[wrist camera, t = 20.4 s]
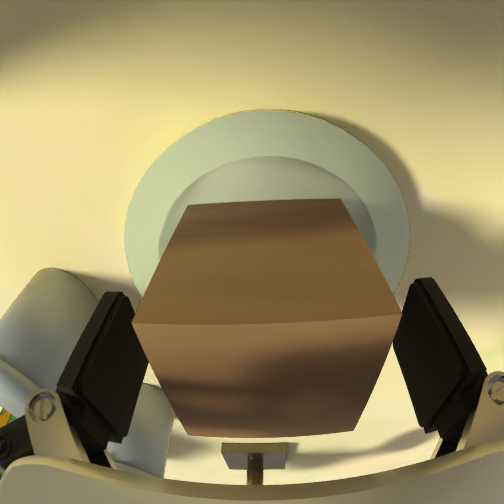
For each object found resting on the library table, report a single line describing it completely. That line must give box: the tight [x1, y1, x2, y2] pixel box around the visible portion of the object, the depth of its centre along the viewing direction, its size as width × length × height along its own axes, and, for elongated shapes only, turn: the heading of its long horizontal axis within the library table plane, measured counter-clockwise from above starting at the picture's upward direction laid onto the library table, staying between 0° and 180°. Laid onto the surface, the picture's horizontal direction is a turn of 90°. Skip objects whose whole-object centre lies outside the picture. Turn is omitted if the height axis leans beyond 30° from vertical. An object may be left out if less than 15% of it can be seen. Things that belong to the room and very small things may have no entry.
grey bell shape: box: [0, 268, 99, 418], centre depth 13 cm, size 6×6×7 cm
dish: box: [124, 109, 410, 298], centre depth 13 cm, size 12×12×1 cm
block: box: [132, 198, 402, 438], centre depth 10 cm, size 6×6×6 cm
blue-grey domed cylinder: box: [107, 383, 175, 478], centre depth 18 cm, size 6×6×7 cm
